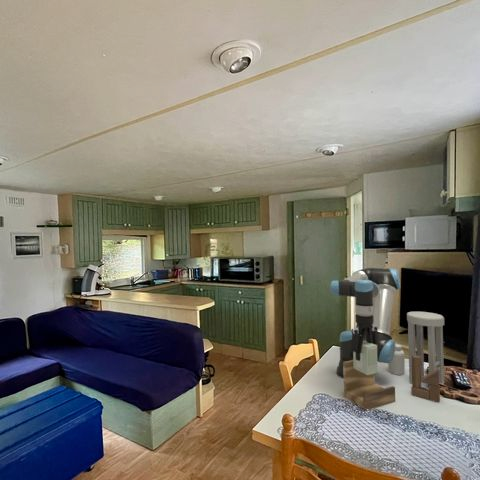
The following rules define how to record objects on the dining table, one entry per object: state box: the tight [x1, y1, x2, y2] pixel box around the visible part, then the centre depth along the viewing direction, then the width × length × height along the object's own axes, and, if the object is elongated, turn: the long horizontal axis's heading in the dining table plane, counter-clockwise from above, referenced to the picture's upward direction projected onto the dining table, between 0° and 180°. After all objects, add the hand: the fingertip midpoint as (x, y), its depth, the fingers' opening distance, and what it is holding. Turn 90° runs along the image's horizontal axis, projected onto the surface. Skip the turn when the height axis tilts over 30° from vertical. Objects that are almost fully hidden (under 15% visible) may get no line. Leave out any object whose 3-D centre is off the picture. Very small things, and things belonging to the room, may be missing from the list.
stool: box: [406, 311, 445, 385], centre depth 146 cm, size 16×16×35 cm
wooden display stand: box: [342, 360, 396, 411], centre depth 131 cm, size 13×18×16 cm
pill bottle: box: [387, 343, 406, 376], centre depth 160 cm, size 8×8×15 cm
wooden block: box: [410, 354, 441, 403], centre depth 133 cm, size 4×11×18 cm, turn 51°
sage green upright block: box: [353, 340, 378, 375], centre depth 129 cm, size 8×6×12 cm
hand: (365, 366), depth 129 cm, fingers closed on sage green upright block, 6 cm apart
